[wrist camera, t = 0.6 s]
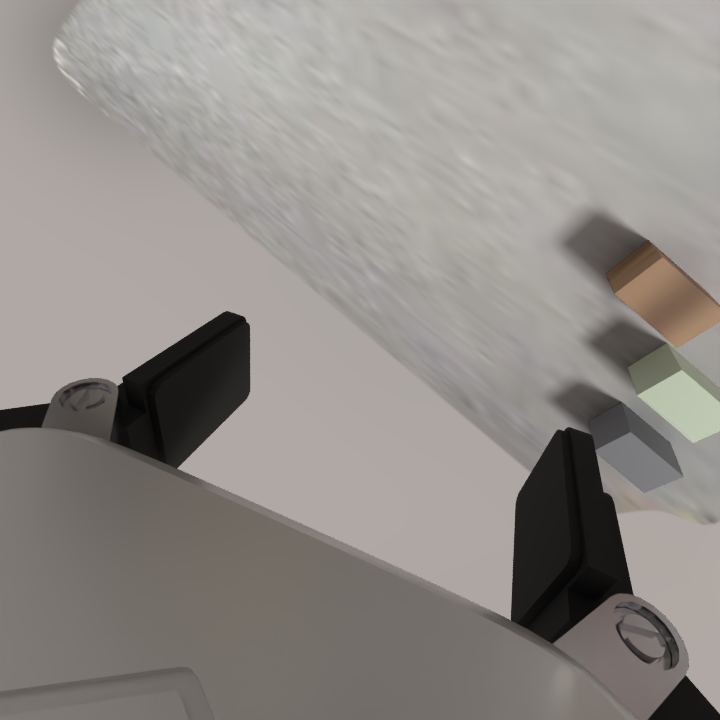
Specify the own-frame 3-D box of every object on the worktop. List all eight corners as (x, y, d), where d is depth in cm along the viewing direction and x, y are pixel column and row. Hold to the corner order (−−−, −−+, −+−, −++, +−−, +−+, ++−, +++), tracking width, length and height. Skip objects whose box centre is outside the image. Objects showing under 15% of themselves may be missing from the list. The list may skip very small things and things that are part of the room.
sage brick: (627, 366, 40) (637, 395, 36) (666, 342, 38) (681, 369, 34) (678, 410, 41) (693, 443, 37) (720, 388, 38) (741, 421, 34)
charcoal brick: (588, 420, 45) (593, 451, 41) (621, 401, 42) (630, 432, 38) (634, 458, 45) (644, 492, 41) (669, 442, 43) (683, 476, 39)
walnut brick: (605, 273, 37) (614, 293, 33) (647, 239, 34) (662, 257, 30) (661, 322, 37) (676, 347, 33) (707, 292, 35) (729, 315, 31)
